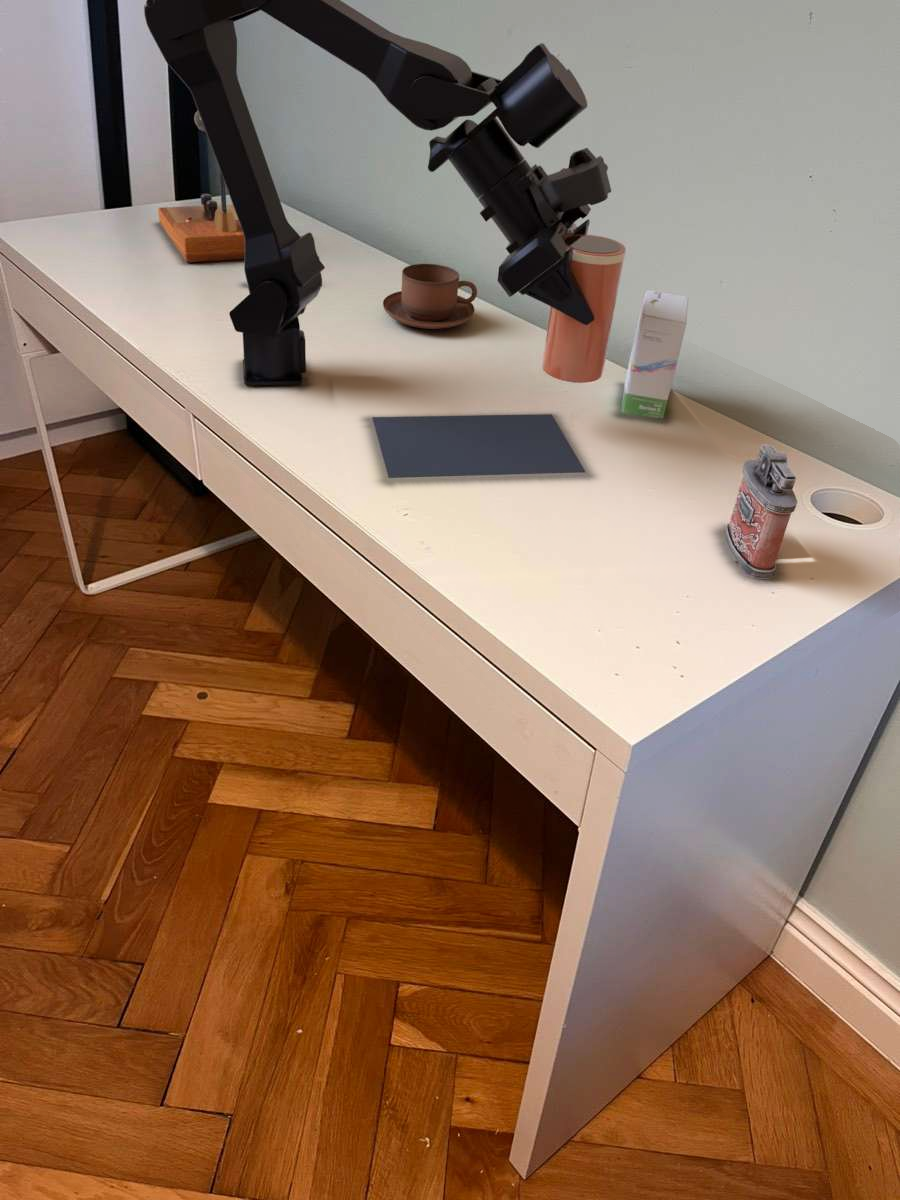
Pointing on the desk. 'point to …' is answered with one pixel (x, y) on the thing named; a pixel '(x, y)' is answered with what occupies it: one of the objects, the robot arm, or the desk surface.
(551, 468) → the felt mat
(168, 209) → the wooden scientific apparatus
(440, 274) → the cup and saucer
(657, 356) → the ink box
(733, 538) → the lighter
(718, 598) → the desk surface
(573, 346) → the pen pot
